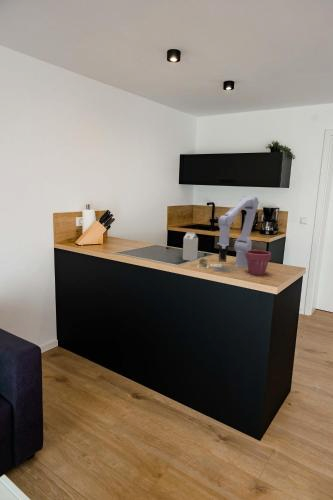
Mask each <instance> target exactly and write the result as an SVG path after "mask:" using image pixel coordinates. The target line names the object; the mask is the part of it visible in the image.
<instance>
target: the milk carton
mask: <svg viewBox="0 0 333 500" xmlns="http://www.w3.org/2000/svg"><path fill="white" fill-rule="evenodd" d="M182 243H183V244H182V260H185V261H189V262H192V261H193V262H194V261H196V260H198V248H199V247H198V246H199V237H198V236H197V234H196V232H192V231H186V233H185V235H184V236H183V242H182Z"/></svg>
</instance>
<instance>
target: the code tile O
mask: <svg viewBox="0 0 333 500" xmlns="http://www.w3.org/2000/svg"><path fill="white" fill-rule="evenodd" d="M209 265H210V264H209ZM209 265H208V264H207V267H199V264H197V266H196V268H202V269H203V268H204V269H209V267H210V266H209Z"/></svg>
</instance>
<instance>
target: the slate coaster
mask: <svg viewBox="0 0 333 500" xmlns="http://www.w3.org/2000/svg"><path fill="white" fill-rule="evenodd" d="M214 271H215V272H224V273H226V272H227V273H230V272H231V268H230V267H214Z"/></svg>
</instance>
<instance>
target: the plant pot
mask: <svg viewBox="0 0 333 500" xmlns="http://www.w3.org/2000/svg"><path fill="white" fill-rule="evenodd" d="M245 257H246V258H247V264H248V267H247V269H248V270H247V271H248V273H249V274H250V275H253V276H264V275H265V274H266V271H267V267H268V264H269V261H270V260H271V257H272V253H271V252H270V251H266V250H261V249H259V250H258V249H251V250H248V251H246V255H245Z"/></svg>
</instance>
